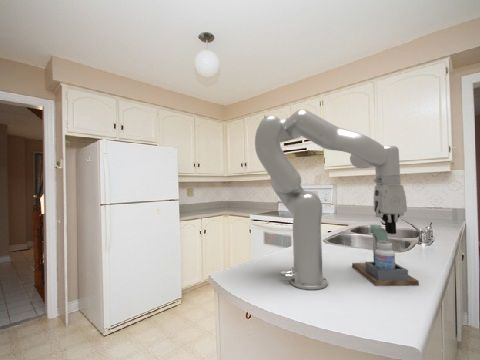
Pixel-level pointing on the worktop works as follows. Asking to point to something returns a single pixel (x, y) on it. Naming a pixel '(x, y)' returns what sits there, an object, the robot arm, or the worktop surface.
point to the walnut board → (362, 270)
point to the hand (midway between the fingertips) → (390, 233)
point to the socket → (387, 273)
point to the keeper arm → (379, 232)
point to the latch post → (375, 245)
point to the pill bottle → (384, 256)
